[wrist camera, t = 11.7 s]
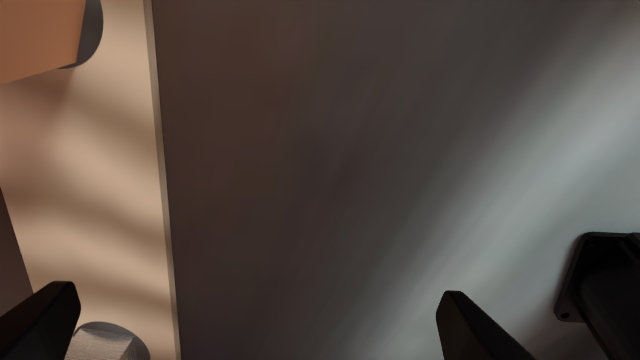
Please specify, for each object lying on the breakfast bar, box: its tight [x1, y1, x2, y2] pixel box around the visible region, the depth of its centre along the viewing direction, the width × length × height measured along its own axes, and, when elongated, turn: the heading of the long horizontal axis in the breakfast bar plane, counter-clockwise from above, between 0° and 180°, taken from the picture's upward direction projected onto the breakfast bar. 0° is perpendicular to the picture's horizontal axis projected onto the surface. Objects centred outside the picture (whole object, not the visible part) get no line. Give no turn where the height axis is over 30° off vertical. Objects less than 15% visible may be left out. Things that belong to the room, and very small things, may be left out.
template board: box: [0, 0, 181, 360], centre depth 24 cm, size 33×10×1 cm, turn 173°
